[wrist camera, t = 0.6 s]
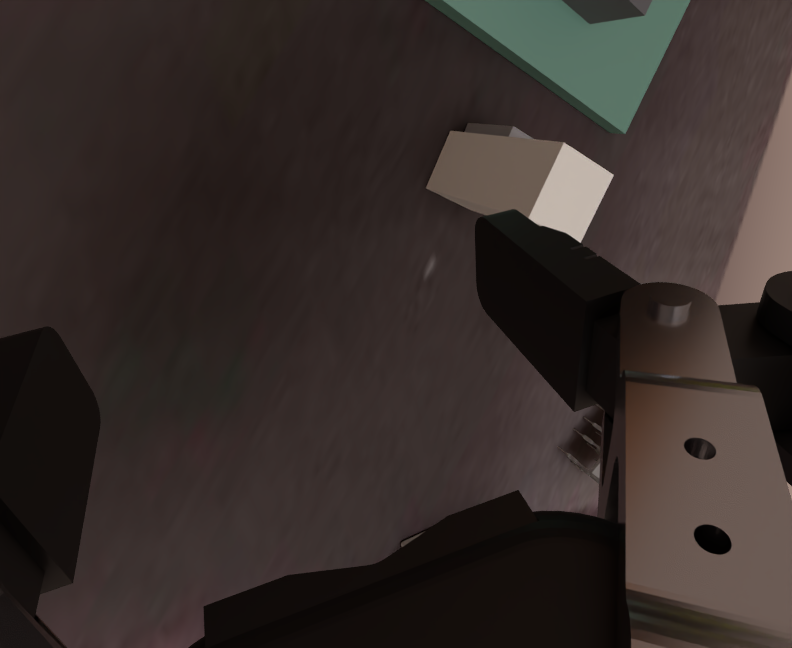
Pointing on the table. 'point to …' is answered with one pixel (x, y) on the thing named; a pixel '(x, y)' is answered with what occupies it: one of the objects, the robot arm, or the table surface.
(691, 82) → the table surface
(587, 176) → the keyed plug
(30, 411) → the robot arm
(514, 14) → the header board
